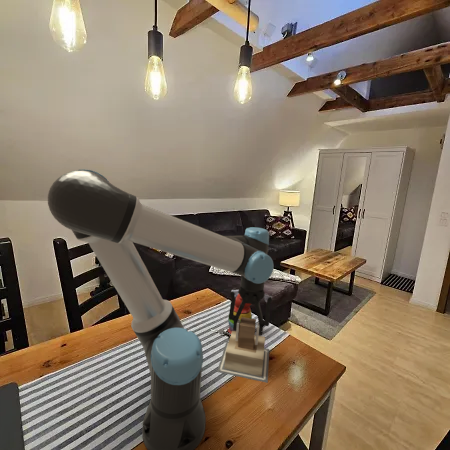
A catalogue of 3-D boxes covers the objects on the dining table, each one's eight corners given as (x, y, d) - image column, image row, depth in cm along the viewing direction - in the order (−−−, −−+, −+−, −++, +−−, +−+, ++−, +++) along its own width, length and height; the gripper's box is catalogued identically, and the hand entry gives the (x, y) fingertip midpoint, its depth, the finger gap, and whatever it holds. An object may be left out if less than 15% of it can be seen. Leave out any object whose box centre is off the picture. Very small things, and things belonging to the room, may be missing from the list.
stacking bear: (250, 344, 96) (255, 300, 93) (224, 339, 98) (228, 296, 95) (253, 328, 107) (257, 288, 104) (229, 324, 109) (233, 285, 105)
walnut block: (253, 349, 83) (255, 327, 82) (237, 347, 84) (239, 325, 83) (254, 340, 88) (256, 319, 87) (239, 338, 89) (241, 317, 88)
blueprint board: (267, 384, 78) (267, 382, 78) (216, 372, 81) (216, 371, 81) (269, 350, 94) (269, 349, 94) (226, 342, 97) (226, 340, 96)
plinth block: (261, 376, 80) (263, 359, 79) (224, 368, 83) (225, 351, 81) (263, 351, 92) (265, 336, 91) (230, 345, 94) (232, 330, 93)
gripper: (282, 275, 84) (275, 339, 88) (226, 267, 87) (221, 329, 91) (283, 284, 76) (275, 353, 81) (221, 275, 80) (217, 341, 84)
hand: (246, 340), depth 86 cm, fingers open, 6 cm apart
